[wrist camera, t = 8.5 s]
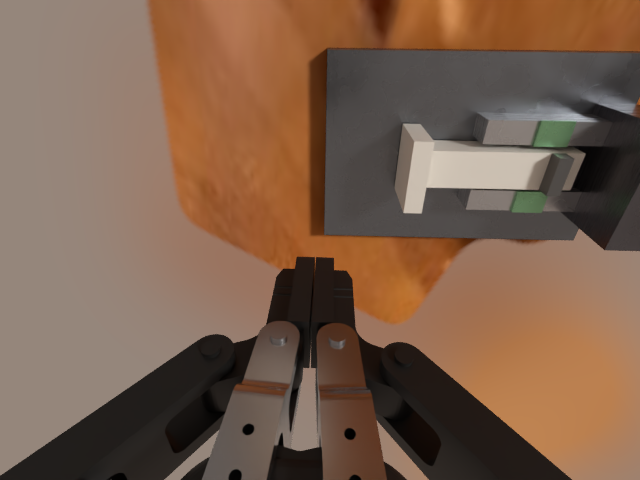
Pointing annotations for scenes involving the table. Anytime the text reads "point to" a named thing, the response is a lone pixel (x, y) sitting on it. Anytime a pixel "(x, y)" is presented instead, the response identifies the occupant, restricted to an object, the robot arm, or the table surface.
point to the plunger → (478, 167)
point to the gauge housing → (485, 140)
